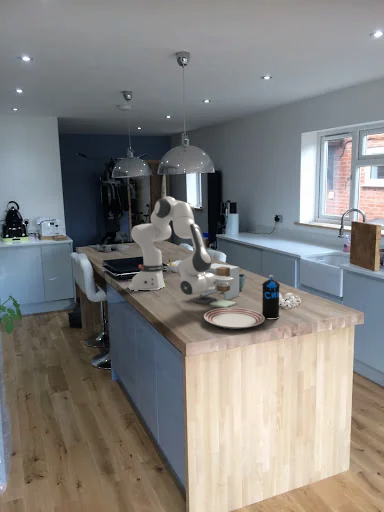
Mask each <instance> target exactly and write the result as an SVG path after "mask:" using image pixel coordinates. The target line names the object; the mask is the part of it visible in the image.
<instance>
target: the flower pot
mask: <svg viewBox="0 0 384 512" xmlns="http://www.w3.org/2000/svg"><path fill="white" fill-rule="evenodd" d="M246 275H247V274H245V273H239V292H241V290H242V289H244V286H245V282H246Z"/></svg>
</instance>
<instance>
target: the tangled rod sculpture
mask: <svg viewBox="0 0 384 512" xmlns="http://www.w3.org/2000/svg"><path fill="white" fill-rule="evenodd" d="M286 299H289V300H286ZM285 300H286V301H285ZM298 301H299V302H298ZM300 303H302V300H301V298H300V297H299V296H297V295H294V294H293V293H291V292H288V293H285V295H284V298H283V295H282V294H281V292H279V307H282V308H287V307H293V306H296V307H297V306H298V305H299V304H300ZM280 304H282V305H280ZM287 305H288V306H287ZM292 305H293V306H292Z"/></svg>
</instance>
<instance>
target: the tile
mask: <svg viewBox="0 0 384 512" xmlns="http://www.w3.org/2000/svg"><path fill="white" fill-rule="evenodd" d="M237 304H238V303H237V301H231V300H224V298H223V299H222V298H221V299H218V300H216V301H214V302H211V303H209V306H213V307H218V308H230V307H232V305H233V306H235V305H237ZM229 306H230V307H229Z"/></svg>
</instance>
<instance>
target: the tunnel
mask: <svg viewBox="0 0 384 512" xmlns="http://www.w3.org/2000/svg"><path fill="white" fill-rule="evenodd" d="M218 267H229V268H230V277H232V278H234V284H233V285H231V286H230V290H229V291H226V292H223V300H227V301H230V300H231V299H234V298H237V297H240V291H239V274H240V266H238V265H237V266H235V265H228V264H223V263H222V264H221V263H217V262H216V263H211V267H210V269H209V270H207V271H204V272H202V273H208V272H209V273H212V274H214V275H216V268H218ZM217 292H218V291H217V287H216V286H215V288H214V289H212V290H209V291H206V292H202V293H201V296H207V295H210V294H211V295H212V294H214V293H217Z"/></svg>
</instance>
